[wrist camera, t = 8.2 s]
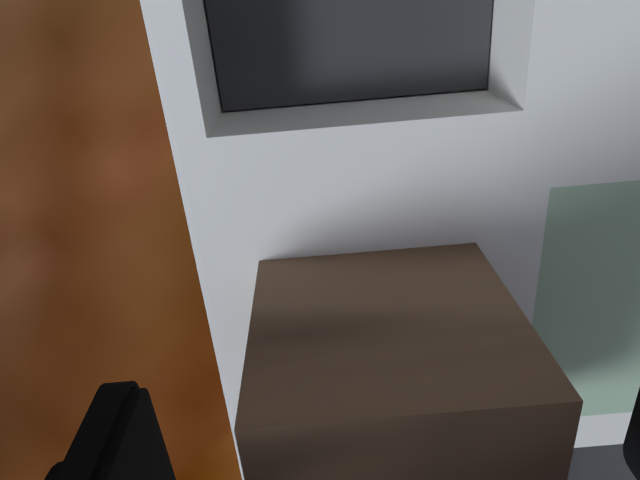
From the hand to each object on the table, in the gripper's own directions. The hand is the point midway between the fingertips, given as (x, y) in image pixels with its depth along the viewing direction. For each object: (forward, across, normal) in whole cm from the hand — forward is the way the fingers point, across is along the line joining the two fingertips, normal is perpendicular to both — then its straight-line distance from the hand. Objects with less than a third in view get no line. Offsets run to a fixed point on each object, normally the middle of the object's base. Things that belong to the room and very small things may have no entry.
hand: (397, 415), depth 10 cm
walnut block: (+3, 0, +1) cm, 3 cm away
